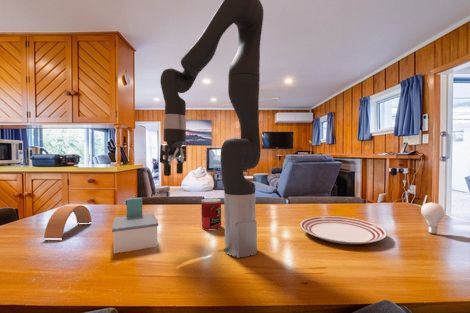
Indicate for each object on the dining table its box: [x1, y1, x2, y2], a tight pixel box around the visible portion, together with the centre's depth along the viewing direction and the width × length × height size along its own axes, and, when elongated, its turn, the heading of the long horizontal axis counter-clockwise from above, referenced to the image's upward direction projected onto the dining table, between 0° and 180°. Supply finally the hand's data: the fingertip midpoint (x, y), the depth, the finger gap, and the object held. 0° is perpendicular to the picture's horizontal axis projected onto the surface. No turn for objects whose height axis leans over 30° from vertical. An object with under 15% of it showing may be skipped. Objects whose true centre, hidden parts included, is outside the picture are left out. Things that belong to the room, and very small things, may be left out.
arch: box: [43, 204, 93, 239], centre depth 90 cm, size 6×20×10 cm, turn 4°
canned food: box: [200, 197, 222, 230], centre depth 93 cm, size 8×8×11 cm
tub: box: [112, 226, 158, 254], centre depth 76 cm, size 14×12×7 cm
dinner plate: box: [299, 215, 388, 245], centre depth 83 cm, size 28×27×3 cm
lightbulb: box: [420, 202, 446, 235], centre depth 82 cm, size 6×6×11 cm
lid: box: [111, 197, 159, 233], centre depth 76 cm, size 15×13×8 cm
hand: (173, 174), depth 82 cm, fingers open, 8 cm apart
